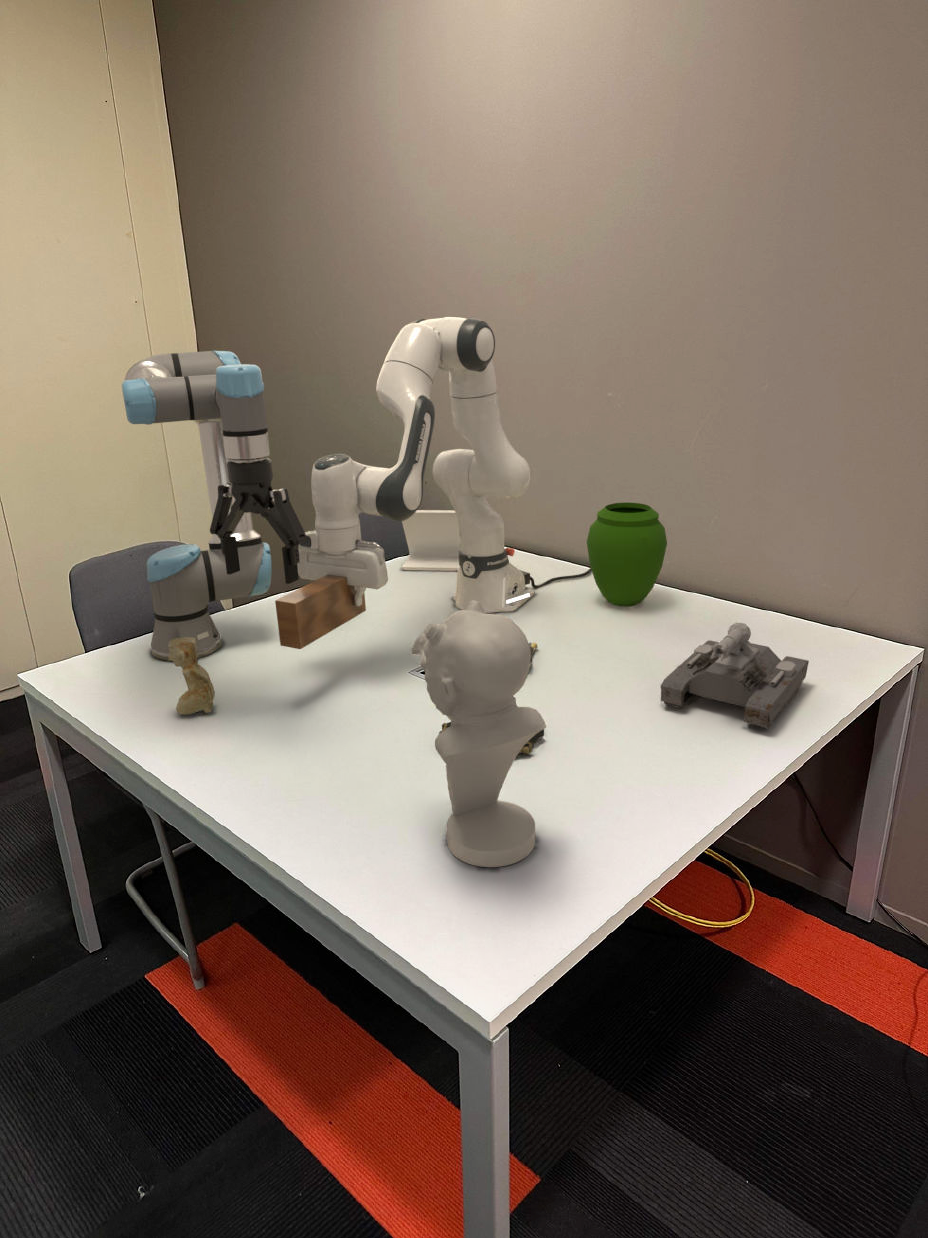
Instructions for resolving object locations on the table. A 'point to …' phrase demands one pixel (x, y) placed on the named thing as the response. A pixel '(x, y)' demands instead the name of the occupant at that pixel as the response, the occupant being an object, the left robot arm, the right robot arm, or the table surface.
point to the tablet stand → (432, 540)
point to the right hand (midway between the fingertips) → (344, 603)
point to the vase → (626, 552)
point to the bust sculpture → (481, 729)
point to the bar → (315, 610)
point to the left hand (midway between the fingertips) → (262, 577)
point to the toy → (737, 677)
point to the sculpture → (191, 677)
